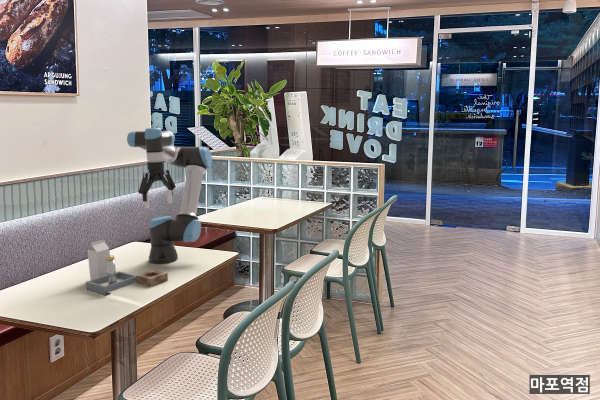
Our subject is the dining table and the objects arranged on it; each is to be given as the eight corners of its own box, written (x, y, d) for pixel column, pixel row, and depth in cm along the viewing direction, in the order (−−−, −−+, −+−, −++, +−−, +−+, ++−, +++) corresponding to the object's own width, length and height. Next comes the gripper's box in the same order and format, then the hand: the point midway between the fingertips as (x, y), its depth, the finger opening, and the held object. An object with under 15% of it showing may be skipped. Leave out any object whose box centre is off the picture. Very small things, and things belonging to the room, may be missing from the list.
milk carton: (112, 278, 262) (108, 240, 259) (99, 282, 257) (95, 243, 253) (102, 276, 266) (99, 238, 263) (90, 280, 261) (86, 242, 257)
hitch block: (154, 279, 258) (153, 269, 258) (168, 283, 253) (167, 273, 252) (136, 285, 251) (135, 275, 250) (150, 289, 245) (150, 279, 244)
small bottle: (114, 283, 252) (110, 255, 250) (118, 284, 250) (115, 256, 248) (107, 285, 249) (104, 257, 247) (112, 286, 247) (109, 258, 245)
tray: (120, 279, 261) (119, 271, 260) (139, 284, 253) (138, 276, 252) (86, 290, 247) (85, 281, 246) (105, 296, 238) (104, 287, 238)
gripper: (170, 158, 267) (173, 200, 270) (128, 163, 247) (131, 209, 251) (181, 158, 262) (184, 202, 266) (138, 164, 242) (142, 211, 246)
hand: (158, 205), depth 258 cm, fingers open, 13 cm apart
